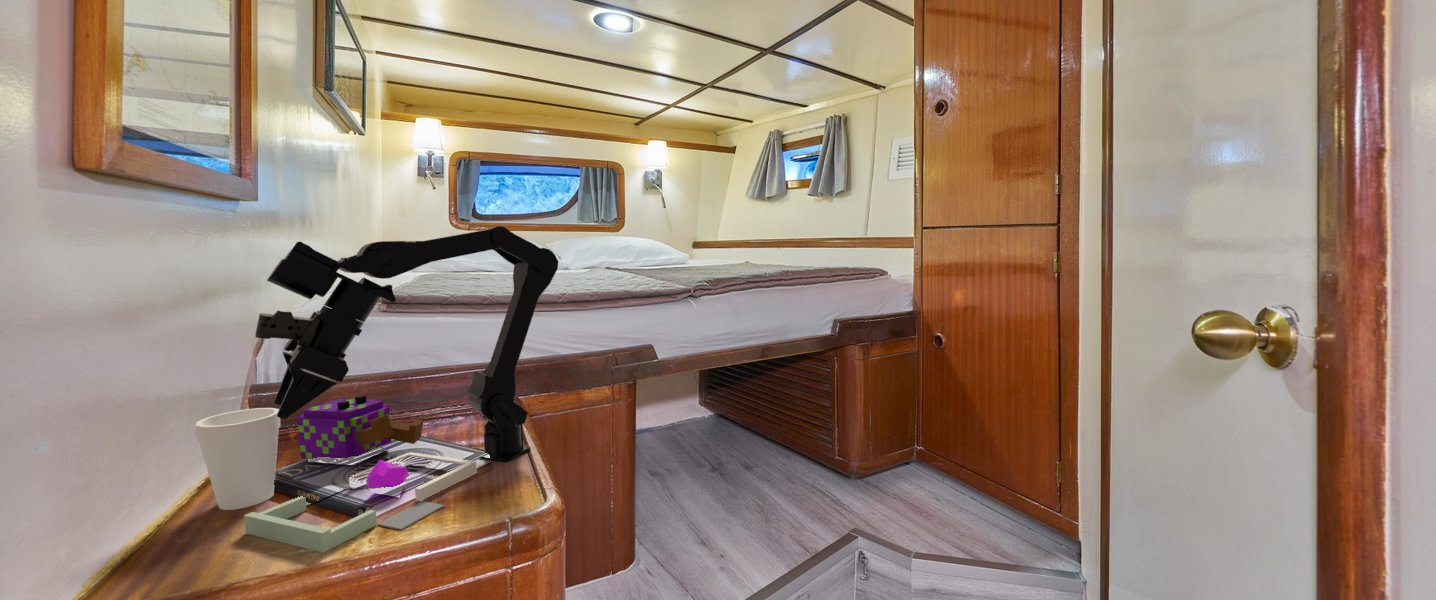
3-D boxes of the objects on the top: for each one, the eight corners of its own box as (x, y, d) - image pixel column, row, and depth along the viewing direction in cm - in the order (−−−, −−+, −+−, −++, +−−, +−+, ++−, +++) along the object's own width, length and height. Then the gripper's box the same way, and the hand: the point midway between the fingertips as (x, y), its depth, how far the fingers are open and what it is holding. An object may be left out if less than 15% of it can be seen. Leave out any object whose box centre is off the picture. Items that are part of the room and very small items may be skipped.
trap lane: (410, 462, 93) (409, 449, 93) (476, 472, 89) (476, 458, 88) (245, 533, 70) (243, 515, 70) (323, 552, 65) (322, 533, 65)
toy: (381, 409, 89) (284, 404, 93) (385, 471, 90) (290, 464, 94) (424, 393, 99) (335, 390, 103) (428, 450, 100) (340, 444, 104)
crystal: (362, 501, 79) (360, 471, 79) (383, 485, 84) (381, 457, 84) (397, 500, 79) (396, 470, 79) (416, 484, 85) (415, 456, 84)
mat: (421, 502, 78) (421, 501, 78) (444, 506, 77) (443, 505, 77) (377, 525, 72) (377, 523, 72) (401, 530, 70) (401, 528, 70)
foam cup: (237, 517, 74) (228, 428, 73) (186, 512, 76) (177, 425, 75) (302, 488, 84) (295, 409, 82) (255, 484, 85) (248, 406, 84)
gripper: (280, 286, 81) (213, 378, 77) (287, 290, 68) (206, 403, 63) (355, 318, 88) (298, 405, 84) (376, 329, 74) (308, 433, 70)
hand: (279, 410), depth 75 cm, fingers open, 9 cm apart
